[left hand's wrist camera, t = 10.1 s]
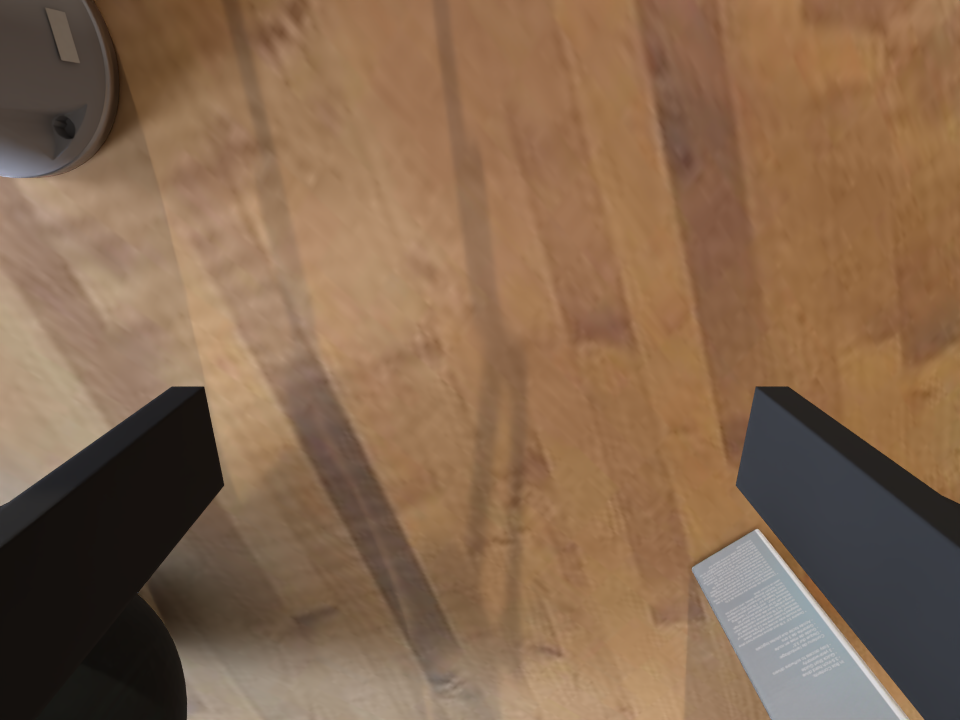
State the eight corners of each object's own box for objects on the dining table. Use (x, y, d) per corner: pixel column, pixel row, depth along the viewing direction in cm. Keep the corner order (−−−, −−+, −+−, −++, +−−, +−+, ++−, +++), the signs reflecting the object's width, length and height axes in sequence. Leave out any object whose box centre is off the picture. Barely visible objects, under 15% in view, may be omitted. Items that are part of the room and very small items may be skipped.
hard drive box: (834, 622, 52) (1036, 879, 33) (766, 658, 53) (921, 922, 35) (757, 524, 47) (937, 755, 29) (686, 566, 49) (812, 810, 30)
